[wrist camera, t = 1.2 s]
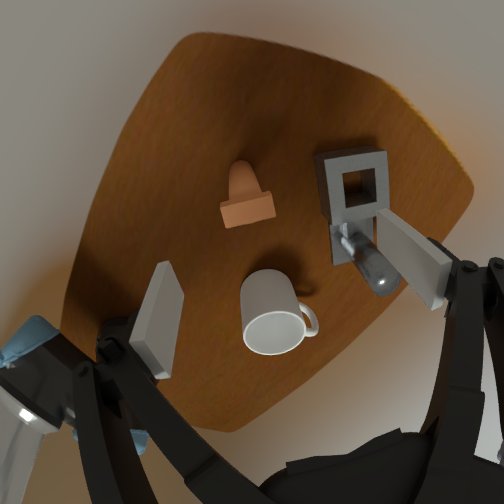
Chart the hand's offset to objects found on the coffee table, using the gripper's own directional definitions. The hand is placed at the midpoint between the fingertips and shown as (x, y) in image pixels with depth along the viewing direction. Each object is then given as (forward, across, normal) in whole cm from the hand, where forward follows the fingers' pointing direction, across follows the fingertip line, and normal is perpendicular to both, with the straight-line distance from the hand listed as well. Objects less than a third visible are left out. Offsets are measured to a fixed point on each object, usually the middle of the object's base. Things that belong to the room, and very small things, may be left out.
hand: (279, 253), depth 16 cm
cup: (+21, 0, -19) cm, 28 cm away
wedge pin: (+21, -1, +1) cm, 21 cm away
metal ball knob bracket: (+21, +13, -7) cm, 26 cm away
